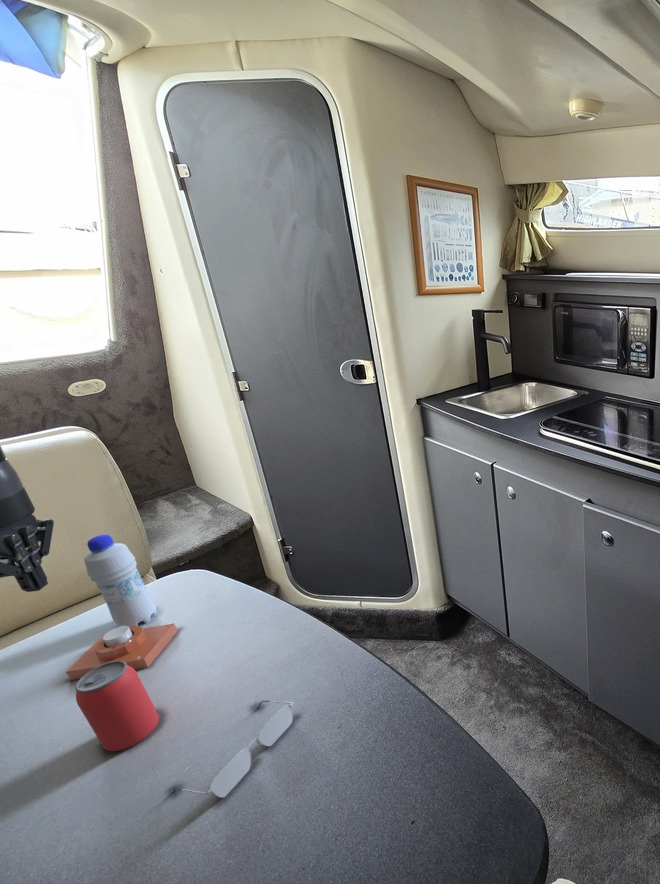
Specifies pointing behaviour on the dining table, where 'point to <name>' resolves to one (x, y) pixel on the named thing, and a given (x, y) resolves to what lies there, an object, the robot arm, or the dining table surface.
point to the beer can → (116, 705)
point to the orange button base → (125, 650)
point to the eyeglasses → (243, 759)
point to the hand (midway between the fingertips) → (37, 588)
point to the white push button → (117, 636)
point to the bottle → (119, 581)
